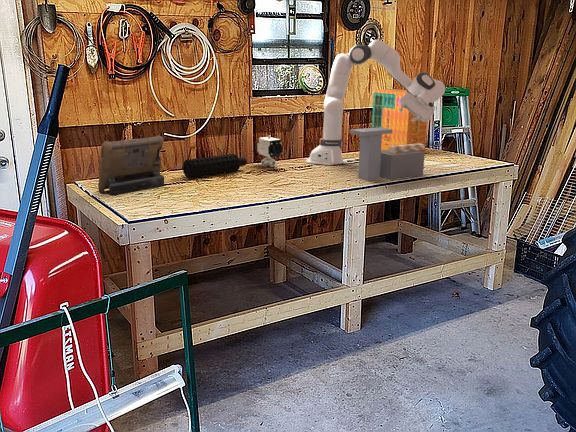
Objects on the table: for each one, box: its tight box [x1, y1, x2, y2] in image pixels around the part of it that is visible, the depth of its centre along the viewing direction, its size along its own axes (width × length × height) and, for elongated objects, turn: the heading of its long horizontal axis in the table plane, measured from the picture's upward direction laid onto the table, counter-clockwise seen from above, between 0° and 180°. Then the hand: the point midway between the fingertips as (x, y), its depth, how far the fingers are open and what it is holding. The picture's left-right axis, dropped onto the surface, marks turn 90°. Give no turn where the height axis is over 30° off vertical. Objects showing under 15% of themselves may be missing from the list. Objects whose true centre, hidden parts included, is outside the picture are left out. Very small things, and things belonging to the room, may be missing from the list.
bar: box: [389, 143, 426, 153], centre depth 309 cm, size 22×4×3 cm, turn 120°
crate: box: [380, 149, 426, 181], centre depth 309 cm, size 23×16×13 cm
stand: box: [349, 127, 392, 182], centre depth 298 cm, size 20×10×26 cm, turn 120°
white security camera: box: [256, 135, 284, 168], centre depth 329 cm, size 18×8×18 cm, turn 35°
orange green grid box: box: [371, 88, 428, 153], centre depth 385 cm, size 34×18×40 cm, turn 35°
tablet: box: [97, 135, 165, 196], centre depth 271 cm, size 33×14×25 cm, turn 142°
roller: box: [182, 153, 248, 179], centre depth 309 cm, size 38×10×10 cm, turn 130°
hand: (405, 115), depth 317 cm, fingers open, 8 cm apart
